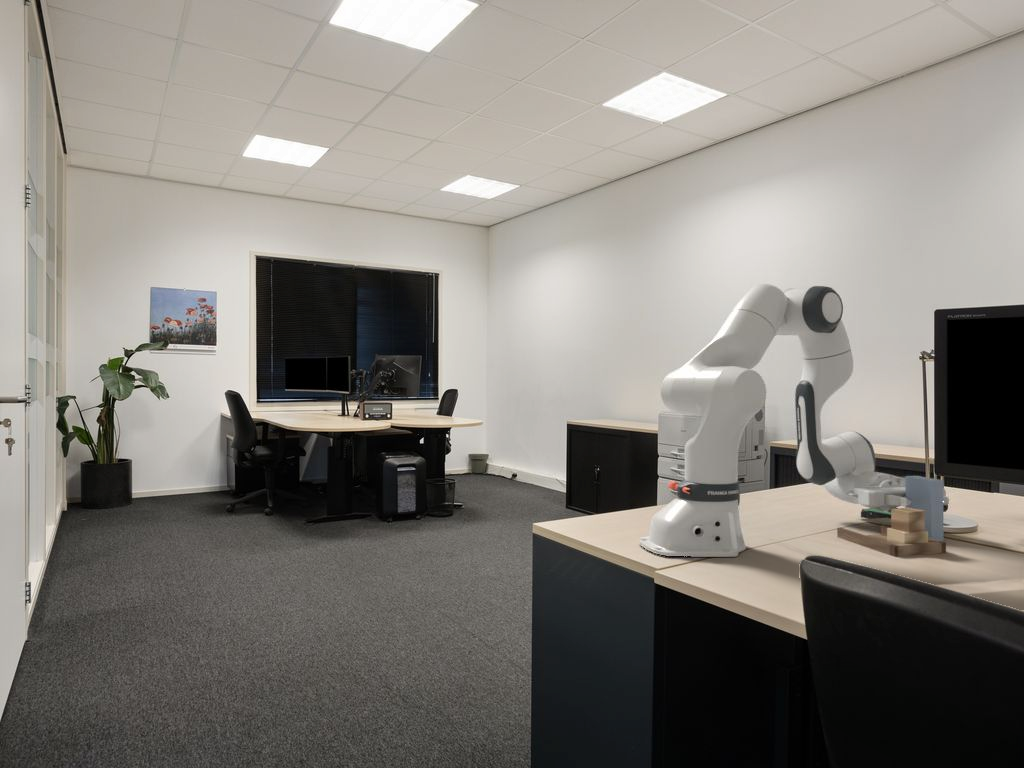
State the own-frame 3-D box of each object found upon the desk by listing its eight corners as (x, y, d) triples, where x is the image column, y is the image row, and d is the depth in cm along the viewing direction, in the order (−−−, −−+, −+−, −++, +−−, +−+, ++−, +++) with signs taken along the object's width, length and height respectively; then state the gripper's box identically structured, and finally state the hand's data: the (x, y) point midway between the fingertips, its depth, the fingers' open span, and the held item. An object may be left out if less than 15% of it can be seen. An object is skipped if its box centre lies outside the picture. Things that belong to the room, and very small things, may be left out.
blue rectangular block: (931, 546, 137) (931, 480, 137) (905, 538, 144) (905, 476, 144) (943, 545, 137) (943, 480, 137) (916, 537, 144) (916, 475, 144)
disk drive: (941, 526, 161) (882, 514, 173) (941, 514, 161) (882, 504, 173) (918, 530, 155) (859, 518, 168) (918, 519, 155) (859, 508, 168)
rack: (893, 563, 125) (893, 546, 125) (837, 543, 141) (837, 527, 141) (946, 560, 127) (946, 542, 127) (884, 540, 143) (884, 525, 143)
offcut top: (908, 532, 128) (908, 512, 128) (891, 528, 131) (891, 509, 131) (924, 530, 129) (924, 510, 129) (906, 526, 133) (906, 507, 133)
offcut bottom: (904, 553, 127) (904, 533, 127) (887, 547, 132) (887, 528, 132) (928, 551, 128) (928, 531, 128) (910, 546, 133) (910, 526, 133)
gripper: (841, 479, 151) (886, 489, 138) (915, 476, 155) (966, 485, 141) (841, 506, 151) (886, 518, 138) (915, 502, 155) (966, 514, 141)
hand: (927, 501), depth 140 cm, fingers open, 8 cm apart
